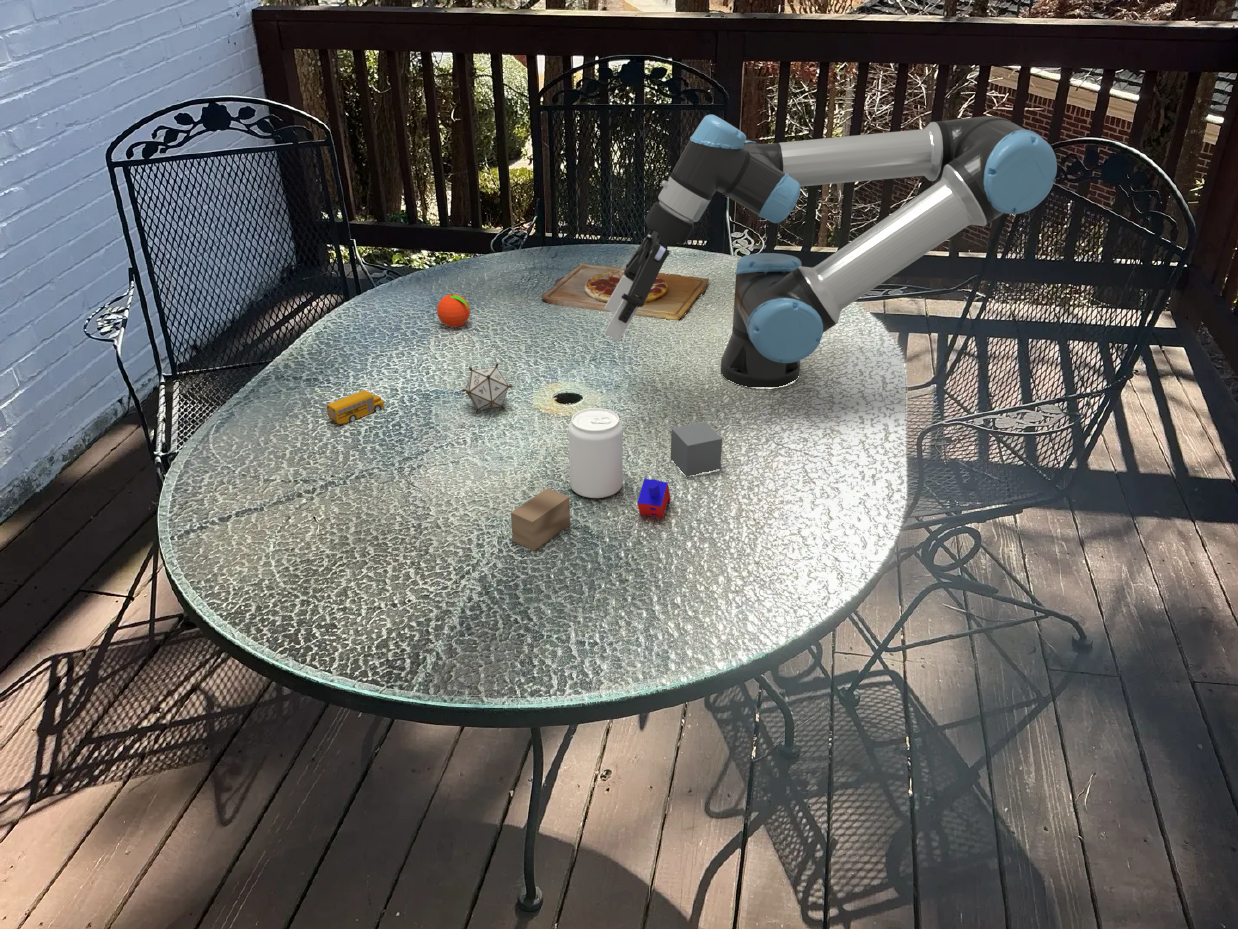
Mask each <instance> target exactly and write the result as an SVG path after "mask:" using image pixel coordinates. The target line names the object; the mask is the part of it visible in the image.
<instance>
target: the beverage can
mask: <svg viewBox="0 0 1238 929" xmlns="http://www.w3.org/2000/svg"><path fill="white" fill-rule="evenodd" d="M570 419H571V420H570V422H569V424H568V427H567V428H568V429H567V430H568V458H569V460H568V461H569V462H568V463H569V485H570V488H571V490H572V491H573V492H575V494H577V495H579V496H582V497H585V498H590V499H591V498H592V499H601V498H602V499H603V498H607V497H610V496H612V495H614V494H616V493H618V492H619V491H620V490H621V489H622V486H623V454H624V453H623V448H624V447H623V446H624V445H623V444H624V443H623V423H622V422H621V421H620V417H619V415H618V413H617V412H614V411H613V410H611V409H608V408H607V409H606V408H602V407H591V408H589V407H588V408H585V409H581V410H579V411H577V412H575V413H574V414H573V415H572V416H571V418H570Z"/></svg>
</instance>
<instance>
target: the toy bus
mask: <svg viewBox="0 0 1238 929" xmlns="http://www.w3.org/2000/svg"><path fill="white" fill-rule="evenodd" d="M325 406H326V412H327V417H328V419H329V420H331V421H333V422H335V423H336V424H338V425H342V424H347V423H353V422H356V420H358V419H360V417H361V418H363V417H365V416H367V415H370V414H372V413H377V412H376V411H378V412H380V411H381V410H382V409H383V408H384V407H385V402H384V400H383V399H382V397H381V396H380V395H377V394H376V395H375V394H373V393H371V392H369V391H368V390H366V389H363V390H360V391H357V392H355V393H352V394H350V395H347V396H345V397H342V398H340V399H337V400H335V401H332V402H329V403H327V404H326V405H325ZM352 421H353V422H352Z"/></svg>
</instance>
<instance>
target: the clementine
mask: <svg viewBox="0 0 1238 929" xmlns="http://www.w3.org/2000/svg"><path fill="white" fill-rule="evenodd" d="M436 307H437V308H436V314H437V317H438V318H439V321H440V322H441V323H442V324H444V325H445V326H447V327H449V328H458V327H462V326H463V325H465V324H466V322H467V321H468V320H469V318H470V313H471V308H470V304H469V303H468V301H467V300H466V299H465V297H463V296H461V295H459V294H456V293H450V294H447V295H445V296H443V297H442V298H441V299H440V300H439V302H438V304H437V306H436Z"/></svg>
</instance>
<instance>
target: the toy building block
mask: <svg viewBox="0 0 1238 929" xmlns="http://www.w3.org/2000/svg"><path fill="white" fill-rule="evenodd" d="M642 481H643V482H642V484H641V489H640V490H639V491H640V492H639V495H638V497H637V502H636V503H637V508H638V512H639V515H642V516H648V517H655V518H659V519H664V518H665V517H664V516H665V513H666V510H667V507H668V506H667V505H668V504H671V495H670V488H669V482H668V481H662V480H657V479H655V478H651V479H650V478H643V480H642Z"/></svg>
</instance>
